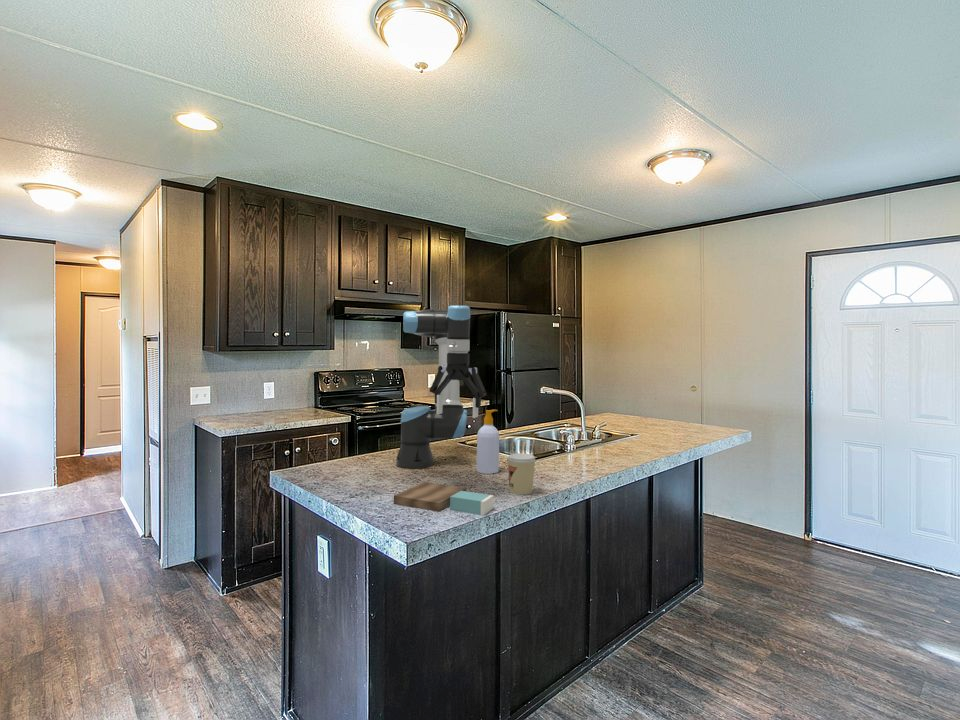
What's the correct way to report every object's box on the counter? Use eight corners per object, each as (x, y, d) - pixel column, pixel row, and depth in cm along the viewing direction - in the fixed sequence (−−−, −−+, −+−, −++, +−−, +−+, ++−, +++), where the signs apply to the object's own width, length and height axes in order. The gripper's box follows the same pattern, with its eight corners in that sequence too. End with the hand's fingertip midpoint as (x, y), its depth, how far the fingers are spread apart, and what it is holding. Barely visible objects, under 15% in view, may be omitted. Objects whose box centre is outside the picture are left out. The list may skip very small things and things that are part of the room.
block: (450, 496, 154) (483, 501, 149) (461, 490, 160) (493, 495, 156) (450, 509, 154) (483, 515, 150) (460, 503, 161) (493, 508, 156)
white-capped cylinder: (505, 487, 178) (505, 453, 178) (531, 487, 179) (532, 453, 179) (508, 495, 169) (509, 459, 169) (537, 495, 170) (537, 459, 170)
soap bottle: (504, 471, 202) (505, 410, 201) (488, 475, 195) (489, 412, 194) (488, 467, 208) (489, 408, 207) (471, 471, 201) (472, 410, 200)
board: (393, 503, 159) (393, 495, 159) (424, 489, 175) (424, 481, 175) (438, 511, 152) (439, 503, 152) (466, 495, 168) (466, 488, 168)
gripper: (420, 351, 174) (419, 413, 175) (487, 354, 163) (486, 420, 165) (431, 350, 181) (430, 410, 182) (497, 353, 170) (495, 417, 172)
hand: (457, 415), depth 173 cm, fingers open, 13 cm apart
